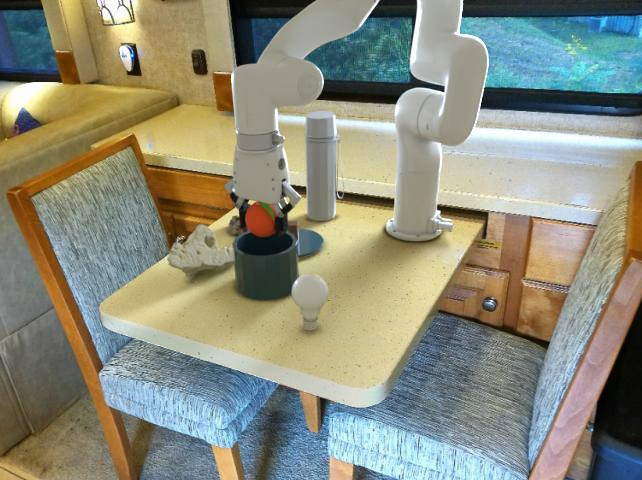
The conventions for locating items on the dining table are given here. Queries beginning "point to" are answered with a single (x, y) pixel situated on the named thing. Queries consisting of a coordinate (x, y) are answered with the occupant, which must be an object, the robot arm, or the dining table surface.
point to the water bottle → (321, 165)
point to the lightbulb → (310, 298)
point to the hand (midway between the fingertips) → (263, 229)
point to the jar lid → (305, 239)
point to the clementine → (261, 219)
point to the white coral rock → (199, 253)
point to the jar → (265, 265)
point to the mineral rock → (236, 226)
